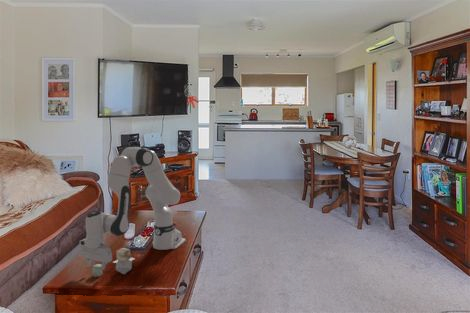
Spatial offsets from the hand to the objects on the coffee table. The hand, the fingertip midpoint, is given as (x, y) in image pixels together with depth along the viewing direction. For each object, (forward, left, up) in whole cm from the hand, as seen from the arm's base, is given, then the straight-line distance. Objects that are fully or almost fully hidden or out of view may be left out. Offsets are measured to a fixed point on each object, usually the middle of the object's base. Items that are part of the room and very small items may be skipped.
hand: (96, 267), depth 203 cm
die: (-9, +10, -5) cm, 15 cm away
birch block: (-9, +10, +3) cm, 14 cm away
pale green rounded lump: (0, 0, -4) cm, 4 cm away
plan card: (-20, -1, -4) cm, 21 cm away
